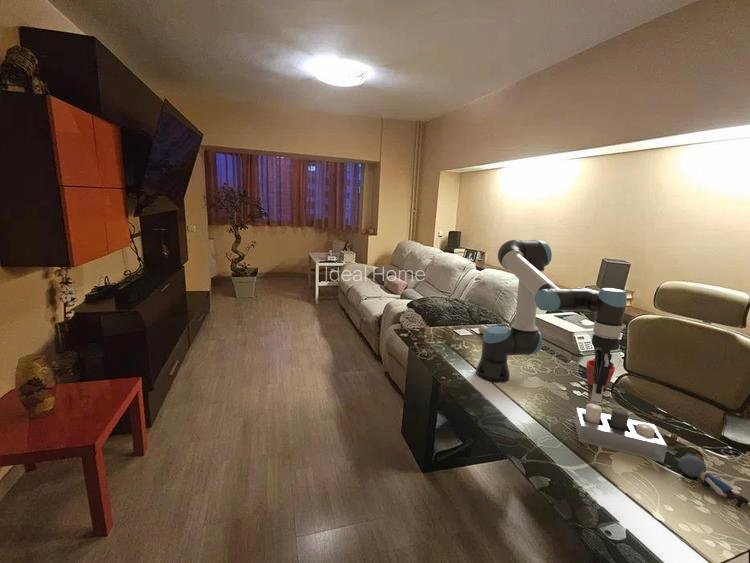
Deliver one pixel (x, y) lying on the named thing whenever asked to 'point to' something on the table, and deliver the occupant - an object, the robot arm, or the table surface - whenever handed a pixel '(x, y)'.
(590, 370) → the flower pot
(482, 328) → the carnation
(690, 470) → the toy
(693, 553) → the table surface
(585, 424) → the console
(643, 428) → the knob
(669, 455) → the table surface
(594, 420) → the knob
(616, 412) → the knob mid
